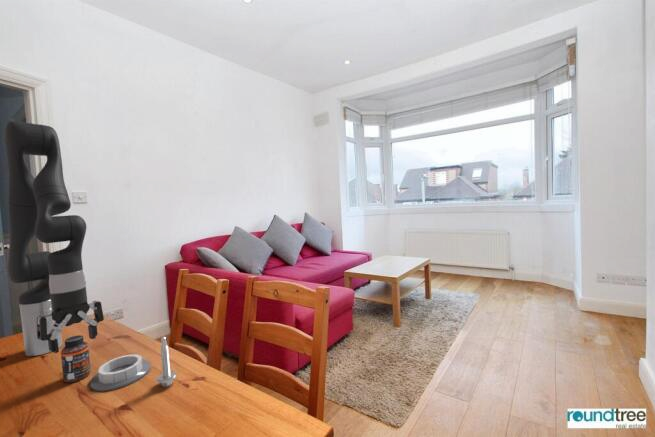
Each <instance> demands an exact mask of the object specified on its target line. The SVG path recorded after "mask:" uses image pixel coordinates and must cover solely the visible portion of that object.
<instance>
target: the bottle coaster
mask: <svg viewBox="0 0 655 437" xmlns="http://www.w3.org/2000/svg"><path fill="white" fill-rule="evenodd" d="M151 368H152V366H151V362H150V361H149V360H147V359H143V357H142V355H139V354H126V355H121V356H117V357H114V358H112V359H111V360H108V361H106V362H104V364H102V365H101V366H99V368H98V372H97V373H95V374H94V375H93V376H92V378H91V379H90V381H89V386H90V388H91V389H92V390H94V391H95V392H96V391H97V392H108V391H115V390H117V389H118V390H119V389H121V388H124V387H127V386H130V385H133V384H134V383H136V382H138V381H140V380H141V379H143V378H144V377H145V376H146V375H148V374H149V372H150V370H151Z"/></svg>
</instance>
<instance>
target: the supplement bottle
mask: <svg viewBox="0 0 655 437" xmlns="http://www.w3.org/2000/svg"><path fill="white" fill-rule="evenodd" d="M84 340H85V339H84V336H83V335H81V334H79V335H74V336H70V337H68V338H66V339H64V347H63V348H61V350H60V358H61V359H60V360H61V370H62V378H63V381H64V382H65V383H75V382H78V381H81V380H83V379H85V378H87V377H88V376H89V375H90V374H91V360H90V359H91V358H90V348H89V343H88V342H86V341H84Z"/></svg>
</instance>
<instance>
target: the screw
mask: <svg viewBox="0 0 655 437" xmlns="http://www.w3.org/2000/svg"><path fill="white" fill-rule="evenodd" d="M160 340H161V345H160V356H161V357H160V358H161V359H160V361H161V369H162V373H160V374H158V376H157V377H156V379H155V381H156V382H157V383H158V384H161V387H163V388H164V387H165V388H166V387H169V386H171V385H173V380H174V379H175V378H176V377H177V376H178V373H177V371H175V370H171V365H170V354H169V353H170V352H169V345H168V343H167V338H166V336H161V339H160Z"/></svg>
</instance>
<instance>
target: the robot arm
mask: <svg viewBox="0 0 655 437" xmlns="http://www.w3.org/2000/svg"><path fill="white" fill-rule="evenodd" d="M4 138H5V140H4V141H5V150H6V159H7V166H8V167H7V168H8V198H7V199H8V200H7V201H8V202H7V203H8V220H9V221H8V222H9V224H8V225H9V248H8V250H9V251H8V262H7V263H8V264H7V265H8V266H7V272H8V277H9V279H10V281H11V282H12V283H14V284H23V283H29V282H34V281H39V282H38V284H36V285H35V286H33V287H32V288H30V289H28V290H26V291H24V292H22V293H20V294H19V295H18V303H19V305H18V306H19V310H20V312H19V313H20V320H21V329H22V337H23V345H24V354H25V356H27V357H35V356H37V357H38V356H42V355H45V354H48V353H54V354H57V353H60V350H59V349H60V348H61V347H62V346H63V336H62V331H63V329H64V328H65V327H70V326H72V325H74V324H79V323H81V322H82V321H83V322H85V323H86V324H88V325H87V329H88V336H89V339H90V340H94V339H96V337H97V336H98V324H99V323H100V322H103V321H104V320H105V318H104V312H103V308H102V302H101V301H100V300H99V301H98V300H93V301H92V302H91V303H88V292H87V281H86V277H85V273H84V267H83V259H82V258H83V257H82V252H83V250H82V249H83V245H84V244H83V243H84V240H85V237H86V234H87V233H86V232H87V223H86V221H85V219H84V218H83V217H81V216H80V215H75V214H73V215H61V214H65V213H67V212H68V211H69V210H70V209H71V204H72V203H71V200H70V197H69V193H68V189H67V187H66V184H65V183H66V182H65V177H64V172H63V162H62V161H63V160H62V152H61V146H60V140H59V137H58V133H57V131H56V130H55V129H54V128H53V127H52V126H50V125H44V124H38V123H29V122H24V121H17V120H15V121H14V120H12V121H11V120H10V121H8V122H7V123H6V125H5V128H4ZM24 155H30V156H39V157H41V156H43V157H46V163H45V164H44V166H43V167H42V168H41V170H40V171H39V172H38V173H37V175H36V176H35V177H34V176H33V174H32V173H31V171H30V170H29V169H28V166H27V165H26V163H25V159H24ZM33 238H36V239H37V240H38V241H40V242H42V243H43V244H52V243H53V244H54V243H62V242H68V245H66V247H65V248H62V249H59V250H56V251H53V252H51V251H47V250H46V251H45V250H43V251H36V252H30V253H29V252H28V253H26V252H27V249H28V247H29V245H30V243H31V241H32V239H33ZM90 309H91V310H92V311H93V314H94V318H92V317H91V316H90V315H88V312H89V310H90Z"/></svg>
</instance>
